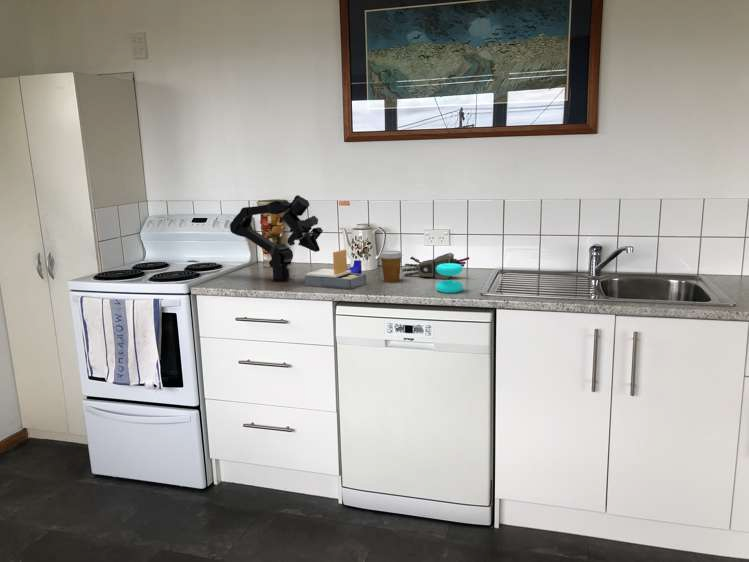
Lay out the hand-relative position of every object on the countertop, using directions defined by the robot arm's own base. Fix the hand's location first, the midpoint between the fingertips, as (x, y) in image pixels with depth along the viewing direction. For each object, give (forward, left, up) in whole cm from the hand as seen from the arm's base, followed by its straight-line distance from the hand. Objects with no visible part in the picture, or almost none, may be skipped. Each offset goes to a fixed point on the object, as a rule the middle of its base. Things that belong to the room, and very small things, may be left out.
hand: (317, 251), depth 244 cm
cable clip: (+11, +17, -14) cm, 24 cm away
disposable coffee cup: (+30, +3, -14) cm, 33 cm away
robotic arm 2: (+48, +9, -14) cm, 51 cm away
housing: (+7, -3, -14) cm, 16 cm away
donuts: (+53, -18, -14) cm, 57 cm away
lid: (+5, -2, -9) cm, 11 cm away
